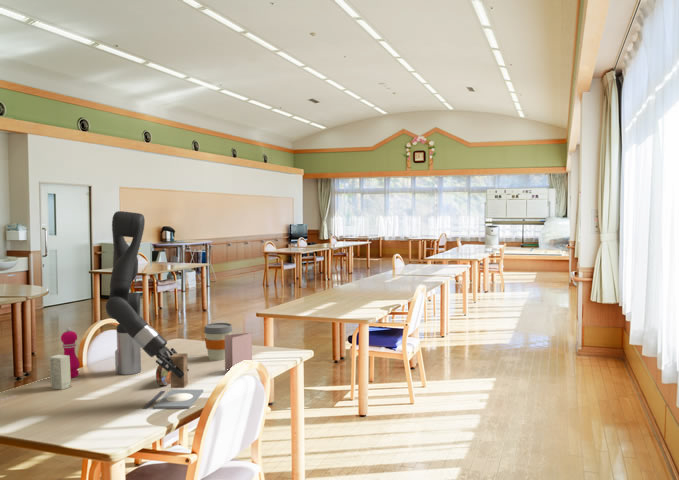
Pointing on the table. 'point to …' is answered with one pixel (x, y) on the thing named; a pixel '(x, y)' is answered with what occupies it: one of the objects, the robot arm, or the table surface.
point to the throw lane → (175, 399)
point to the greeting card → (237, 349)
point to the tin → (163, 376)
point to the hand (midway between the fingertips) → (184, 374)
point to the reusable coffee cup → (216, 339)
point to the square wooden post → (183, 366)
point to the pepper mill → (71, 350)
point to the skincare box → (60, 371)
